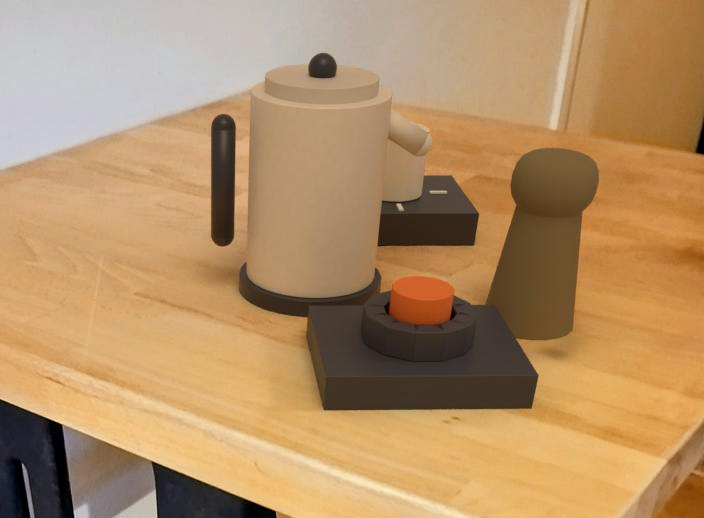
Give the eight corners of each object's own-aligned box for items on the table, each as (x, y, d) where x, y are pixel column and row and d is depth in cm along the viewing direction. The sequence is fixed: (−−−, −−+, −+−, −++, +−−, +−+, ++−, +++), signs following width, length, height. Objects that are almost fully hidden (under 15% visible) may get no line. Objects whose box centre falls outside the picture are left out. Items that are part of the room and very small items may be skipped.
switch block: (489, 336, 67) (499, 277, 64) (531, 409, 58) (545, 345, 56) (306, 337, 66) (309, 278, 64) (323, 411, 58) (328, 346, 56)
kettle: (401, 263, 77) (427, 38, 68) (427, 317, 69) (461, 70, 60) (209, 264, 76) (209, 37, 67) (212, 319, 68) (213, 69, 59)
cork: (500, 344, 66) (532, 168, 59) (468, 307, 70) (494, 140, 64) (588, 338, 66) (630, 164, 60) (550, 302, 71) (585, 137, 65)
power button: (443, 303, 62) (447, 275, 61) (456, 328, 59) (460, 299, 58) (384, 303, 62) (387, 275, 61) (394, 328, 59) (397, 299, 58)
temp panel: (447, 204, 88) (452, 173, 87) (474, 245, 80) (479, 211, 79) (309, 204, 88) (311, 173, 86) (322, 245, 80) (325, 211, 78)
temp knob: (358, 183, 84) (364, 116, 81) (415, 183, 85) (423, 116, 81) (366, 202, 81) (372, 131, 77) (426, 202, 81) (435, 132, 78)
